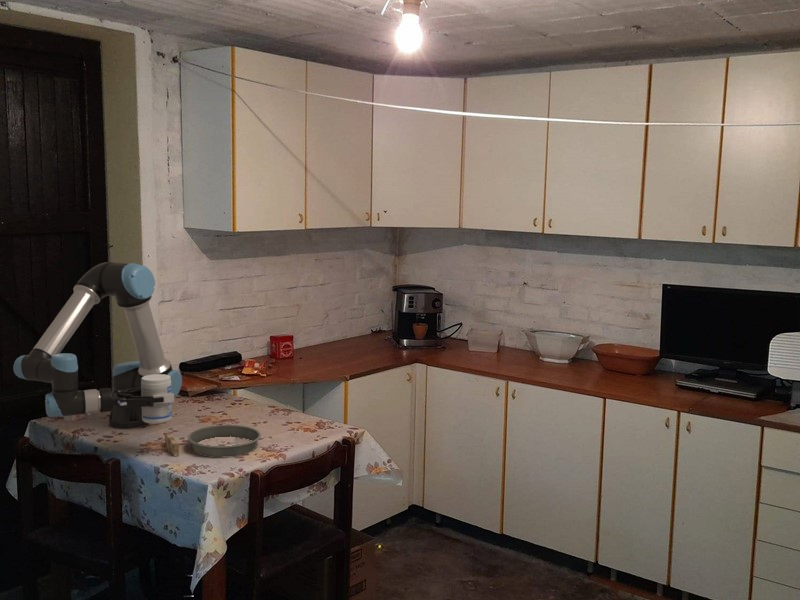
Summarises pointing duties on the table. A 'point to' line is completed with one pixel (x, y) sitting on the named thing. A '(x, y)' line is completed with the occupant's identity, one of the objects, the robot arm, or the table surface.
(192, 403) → the table surface
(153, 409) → the supplement tub
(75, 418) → the gable top carton
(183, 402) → the table surface
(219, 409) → the table surface
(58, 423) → the table surface
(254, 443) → the cake pan
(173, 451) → the stop rail
